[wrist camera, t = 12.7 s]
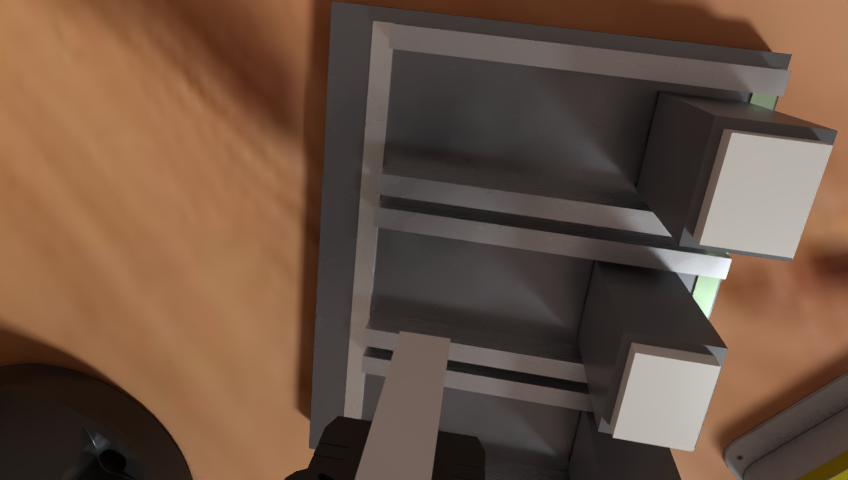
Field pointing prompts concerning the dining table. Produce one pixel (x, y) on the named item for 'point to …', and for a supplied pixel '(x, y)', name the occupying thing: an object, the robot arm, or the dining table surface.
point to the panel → (494, 210)
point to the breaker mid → (648, 356)
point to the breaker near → (732, 174)
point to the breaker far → (617, 456)
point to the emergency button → (798, 440)
